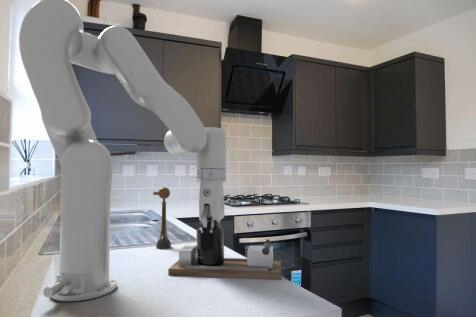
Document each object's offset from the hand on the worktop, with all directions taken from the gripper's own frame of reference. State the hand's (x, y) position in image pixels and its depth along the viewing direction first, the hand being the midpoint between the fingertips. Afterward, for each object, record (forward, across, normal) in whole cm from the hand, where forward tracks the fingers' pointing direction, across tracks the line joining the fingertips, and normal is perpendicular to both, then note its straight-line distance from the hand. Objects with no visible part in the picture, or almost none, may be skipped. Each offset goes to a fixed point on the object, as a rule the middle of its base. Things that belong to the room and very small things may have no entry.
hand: (211, 245), depth 81 cm
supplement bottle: (+5, 0, 0) cm, 5 cm away
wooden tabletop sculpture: (+7, +23, +21) cm, 32 cm away
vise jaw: (+4, 0, -13) cm, 13 cm away
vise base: (+6, 0, -4) cm, 7 cm away
